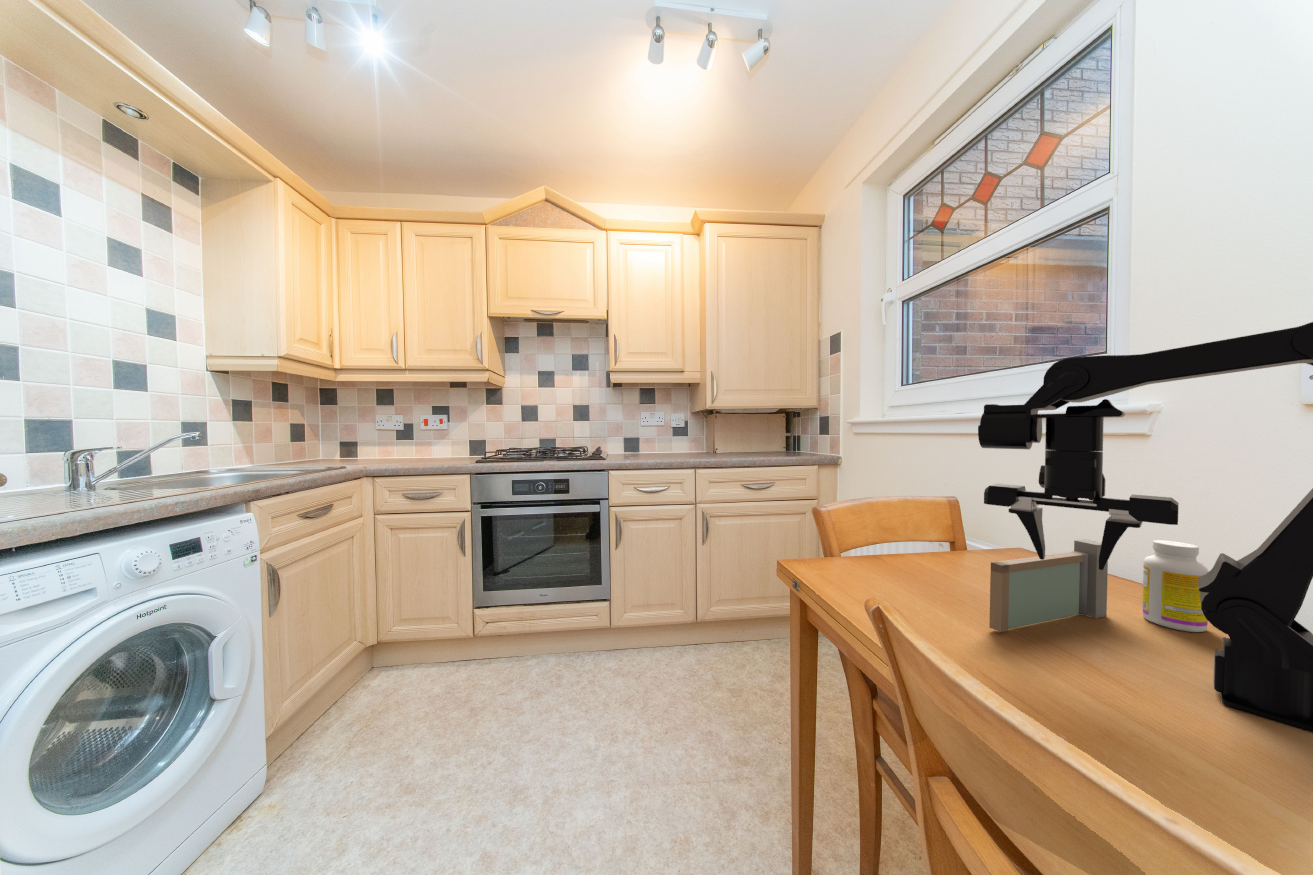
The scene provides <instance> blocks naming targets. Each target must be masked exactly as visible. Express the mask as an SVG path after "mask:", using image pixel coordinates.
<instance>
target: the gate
mask: <svg viewBox="0 0 1313 875" xmlns="http://www.w3.org/2000/svg"><path fill="white" fill-rule="evenodd" d="M989 581H990V582H989V584H990V585H989V586H990V588H989V589H990V590H989V624H988V625H989V626H988V628H990V629H991V630H994V631H996V632H999V633H1003V632H1008V631H1009V630H1012V629H1016V628H1021V627H1025V626H1031V625H1035V624H1040V623H1041V624H1042V623H1045V622H1050V621H1055V620H1060V619H1064V618H1070V617H1074V616H1079V615H1083V616H1086V614H1087V584H1088V554H1087V553H1083V552H1076V551H1074V550H1073V551H1070V552H1061V553H1053V554H1045V559H1043V560H1042V559H1040V558H1039V556H1038V555H1037V556H1029V557H1022V558H1015V559H1014V558H1013V559H1007V560H999V561H991V562H990V580H989Z"/></svg>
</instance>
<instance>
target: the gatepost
mask: <svg viewBox="0 0 1313 875" xmlns="http://www.w3.org/2000/svg"><path fill="white" fill-rule="evenodd" d="M1073 542H1074V543H1073V544H1074V545H1073V551H1076V552H1083V553H1087V554H1088V584H1087V614H1086V615H1085V616H1087V617H1090V618H1093V619H1098V618H1105V617H1107V609H1108V605H1107V604H1108V575H1109V574H1108V573H1109V572H1108V571H1109V564H1108V563H1109V560H1108V561H1107V563H1106V565H1105V568H1104V569H1103V570H1099V554H1100V549H1101V544H1102V541H1095V540H1091V539H1086V538H1085V539H1077V540H1075V539H1074V541H1073Z"/></svg>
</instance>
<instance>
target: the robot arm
mask: <svg viewBox="0 0 1313 875" xmlns="http://www.w3.org/2000/svg"><path fill="white" fill-rule="evenodd" d="M1296 364H1307V365H1310V366H1312V367H1313V321H1311V322H1308V323H1305V324H1302V325H1298V326H1294V327H1290V328H1283V329H1279V330H1273V331H1266V332H1261V333H1255V334H1250V335H1244V336H1239V337H1238V336H1237V337H1233V338H1226V339H1221V340H1215V341H1211V342H1205V343H1204V342H1203V343H1200V344H1198V343H1197V344H1194V345H1188V346H1182V347H1176V348H1170V349H1165V350H1160V351H1153V352H1149V353H1148V352H1147V353H1139V354H1125V355H1124V354H1122V355H1120V354H1119V355H1116V354H1114V355H1113V354H1112V355H1109V354H1108V355H1090V356H1077V357H1076V356H1071V357H1066V358H1063V359H1060V360H1058V361H1055V362H1054V363H1053V364H1052V365H1050V367H1049V368H1048V369H1047V370H1046V371H1045V373H1044V376H1043V382H1042V383H1043V384H1042V385H1041V386H1040V387H1039V388H1038V389H1037V391H1036V392H1034V393H1033V395H1031V397H1030V398H1029V399H1028V400H1027V401H1026V402H1025V403H1024V404H1005V405H1004V404H997V403H996V404H994V403H991V404H984V405H983V413H982V414H981V417H980V420H979V421H980V422H979V425H978V426H977V432H978V433H977V436H978V442H979V445H980V447H981V448H982V449H996V450H997V449H998V450H999V449H1000V450H1001V449H1002V450H1003V449H1004V450H1005V449H1006V450H1030V449H1031V448H1032V446H1033V443H1034V444H1040V443H1041V440H1042V438H1043V419H1045V441H1044V442H1045V444H1044V446H1045V447H1044V449H1045V451H1044V465H1040V469H1039V473H1038V484H1039V486H1040V487H1041V488H1042V489H1044V492H1043V491H1042V492H1041V491H1033V490H1026V486H1025V485H1018V484H1017V485H1016V484H1004V483H994V484H991V485H990V484H989V485H988V486H987V487H985V489H984V491H983V504H985V505H988V506H989V505H990V506H999V507H1007V508H1008V513H1010V514H1015V515H1017V517H1018V519H1019V521H1020V522H1021V524H1022V525H1023V526H1024V528H1025V530H1026V532H1027V534H1028V537H1029V538H1030V540H1031V543H1032V544H1033V547H1034V549H1035V552H1036V553H1037V556H1039V558H1040V559H1042V560H1043V559H1045V555H1046V541H1045V534H1044V525H1043V507H1038V506H1039V505H1040V506H1050V507H1058V508H1066V509H1067V508H1069V509H1078V510H1086V511H1087V510H1089V511H1097V512H1108V515H1110V516H1109V517H1108V518H1107V519H1106V520H1105V523H1104V530H1103V534H1102V540H1101V542H1102V544H1101V549H1100V554H1099V570H1103V569H1104V568H1105V565H1106V563H1107V561H1108V562H1109V559H1110V557H1111V555H1112V554H1113V551H1114V549H1115V547H1116V545H1117V543H1118V541H1119V540H1120V539H1121V537H1122V536H1123V534H1124V533H1125V532H1126V531H1127V529H1128V528H1135V529H1140V528H1141V527H1142V525H1143V523H1150V524H1161V525H1173V526H1177V525H1179V504H1180V503H1179V501H1177V500H1176V499H1174V498H1173V497H1170V496H1169V497H1168V496H1159V495H1158V496H1157V495H1156V496H1155V495H1145V494H1144V495H1142V494H1131V495H1130V496H1129V498H1128V499H1125V498H1124V499H1122V498H1112V497H1105V496H1106V477H1105V475H1104V473H1103V463H1104V462H1103V461H1104V460H1103V459H1104V457H1103V456H1104V418H1107V419H1109V418H1124V416H1126V413H1125V412H1124V411H1122V410H1120V409H1119V408H1117V407H1116V406H1115V405H1113V403H1112V402H1111V400H1109V399H1107V398H1106V397H1109V396H1111V395H1115V394H1119V393H1122V392H1126V391H1129V390H1133V389H1136V388H1140V387H1143V386H1148V385H1153V384H1160V383H1166V382H1174V381H1182V380H1190V379H1196V378H1203V377H1205V378H1206V377H1209V376H1218V375H1225V374H1233V373H1239V372H1246V371H1252V370H1253V371H1254V370H1260V369H1261V370H1262V369H1268V368H1269V369H1270V368H1274V367H1275V368H1276V367H1282V366H1283V367H1284V366H1289V365H1296ZM1104 397H1105V399H1102V401H1100V402H1099V403H1098V404H1095V405H1094V404H1093V405H1092V404H1091V405H1068V406H1067V407H1066V409H1065V413H1039V411H1040V412H1041V411H1056V410H1057V409H1059V408H1061V407H1063V406H1065V405H1067V404H1069V403H1084V402H1088V401H1093V400H1097V399H1101V398H1104ZM1009 507H1010V508H1009ZM1208 571H1209V572H1208V573H1207V574H1205V575H1203V576H1200V577H1198V587H1199V591H1200V600H1201V609H1202V612H1203V614H1204V616H1205V618H1206V619H1207V620H1208V623H1209V624H1210V625H1211V626H1213V627H1214V628H1216V629H1217V630H1219V631H1220V632H1222V633H1223V634H1225V635H1228V637H1229V638H1228V637H1223V638H1222V649H1219V648H1217V649H1214V650H1213V652H1214V653H1213V679H1212V680H1213V689H1214V691H1216V692H1217V693H1219V694H1220V699H1221V703H1222V704H1223V705H1226V706H1229V707H1232V708H1235V709H1239V710H1242V711H1245V712H1248V713H1253V714H1255V715H1259V716H1262V717H1266V718H1267V719H1268V718H1269V719H1272V720H1275V721H1279V722H1283V723H1284V724H1285V723H1286V724H1289V725H1292V726H1295V727H1297V728H1298V727H1299V728H1302V729H1305V730H1308V731H1311V732H1313V632H1311V631H1310V630H1309V629H1307V627H1305V626H1303V625H1302V624H1301V623H1299V622H1298V621H1297V620H1295V619H1296V617H1297V615H1298V613H1299V611H1300V610H1301V608H1302V606H1303V604H1304V600H1305V598H1306V595H1307V593H1308V590H1309V588H1310V586H1311V582H1312V580H1313V487H1312V488H1311V489H1310V490H1309V491H1308V493H1307V494H1306V495H1305V496H1304V497H1303V498H1302V499H1301V500H1300V502H1298V504H1297V505H1296V506H1295V507H1293V509H1292V510H1291V511H1290V513H1289V514H1288V515H1286V517H1285V518H1284V519H1283V520H1282V521H1281V522H1280V524H1278V526H1277V527H1276V528H1275V529H1274V530H1273V531H1272V532H1271V534H1270V535H1269V536H1268V537H1267V538H1266V539H1265V540H1264V541H1263V542H1262V544H1260V546H1259V547H1258V548H1256V549H1255V550H1254V551H1252V552H1250V553H1248V554H1247V555H1245V556H1243V557H1241V558H1239V559H1238V560H1236V559H1234V558H1233V557H1230V556H1229V555H1228V554H1225V553H1222V552H1221V553H1219V555H1218V557H1217V559H1216V560H1215V563H1214V565H1213V567H1212V568H1211V569H1210V570H1208Z"/></svg>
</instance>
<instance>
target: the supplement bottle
mask: <svg viewBox="0 0 1313 875" xmlns="http://www.w3.org/2000/svg"><path fill="white" fill-rule="evenodd" d="M1152 549H1153V551H1154V554H1152V555H1148V556H1146V557H1145V558H1144V559H1143V562H1142V563H1143V566H1142V568H1143V569H1142V572H1143V573H1142V576H1143V577H1142V616H1143V618H1144V619H1146V620H1147V621H1150V622H1151V623H1154V624H1156V625H1159V626H1162V627H1165V628H1168V629H1172V630H1178V631H1181V632H1192V633H1203V632H1206V630H1208V627H1209V626H1208V624H1209V621H1208V620H1207V619H1206V618H1205V616H1204V614H1203V612H1202V609H1201V600H1200V591H1199V587H1198V577H1200V576H1203V575H1205V574H1207V573H1208V572H1209V571H1210V570H1209V569H1208V567H1207V566H1205V564H1203V563H1201V562H1200V561H1198V560H1197V557H1198V555H1199V554H1200V547H1199V546H1198V545H1195V544H1192V543H1189V542H1188V543H1187V542H1181V541H1173V540H1164V539H1163V540H1162V539H1156V540H1152Z"/></svg>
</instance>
